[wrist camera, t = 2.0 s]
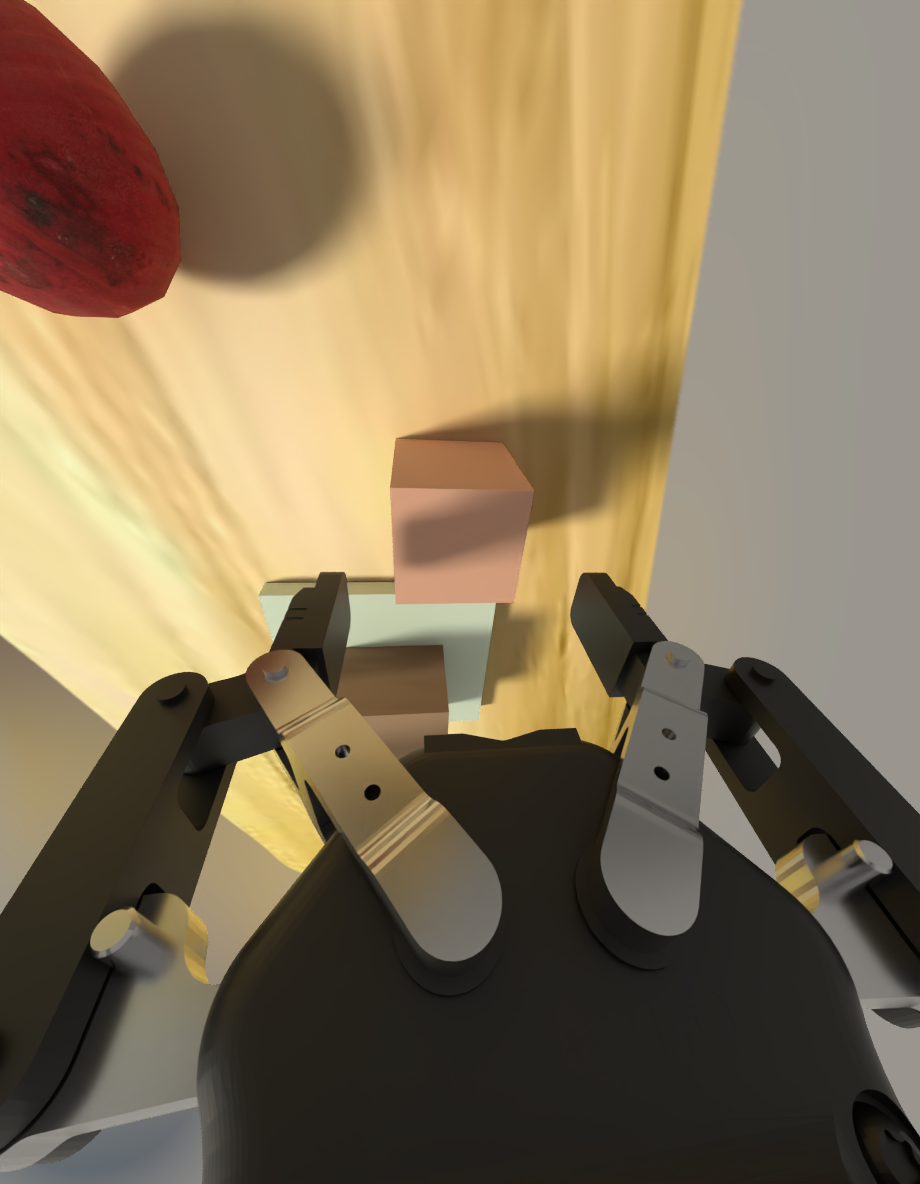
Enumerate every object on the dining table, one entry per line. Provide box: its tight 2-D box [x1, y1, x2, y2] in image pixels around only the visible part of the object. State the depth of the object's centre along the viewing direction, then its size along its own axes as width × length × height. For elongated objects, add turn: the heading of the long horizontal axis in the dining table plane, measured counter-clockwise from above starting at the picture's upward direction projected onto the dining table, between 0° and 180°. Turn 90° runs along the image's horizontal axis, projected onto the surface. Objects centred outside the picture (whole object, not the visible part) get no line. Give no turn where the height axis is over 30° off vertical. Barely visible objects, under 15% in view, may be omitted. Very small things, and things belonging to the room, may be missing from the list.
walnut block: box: [336, 645, 449, 759], centre depth 24 cm, size 6×6×5 cm
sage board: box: [259, 582, 496, 721], centre depth 25 cm, size 12×13×1 cm
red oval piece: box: [0, 0, 181, 318], centre depth 9 cm, size 6×6×8 cm
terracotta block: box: [390, 439, 534, 604], centre depth 17 cm, size 5×5×6 cm
